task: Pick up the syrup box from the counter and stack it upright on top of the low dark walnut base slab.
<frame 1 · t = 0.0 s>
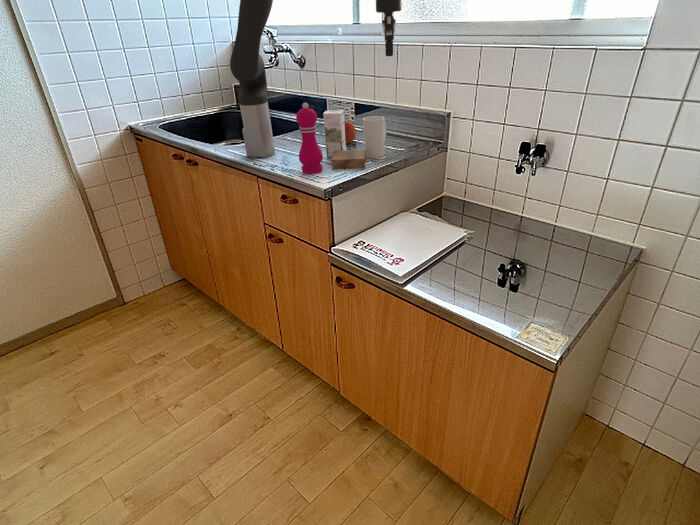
hand: (389, 54, 131), 29 cm above the counter, fingers open, 8 cm apart
pepper mill: (312, 172, 130), on the counter
syrup box: (336, 156, 143), on the counter
mug: (377, 155, 142), on the counter
fruit: (346, 143, 157), on the counter
walnut base: (349, 164, 134), on the counter
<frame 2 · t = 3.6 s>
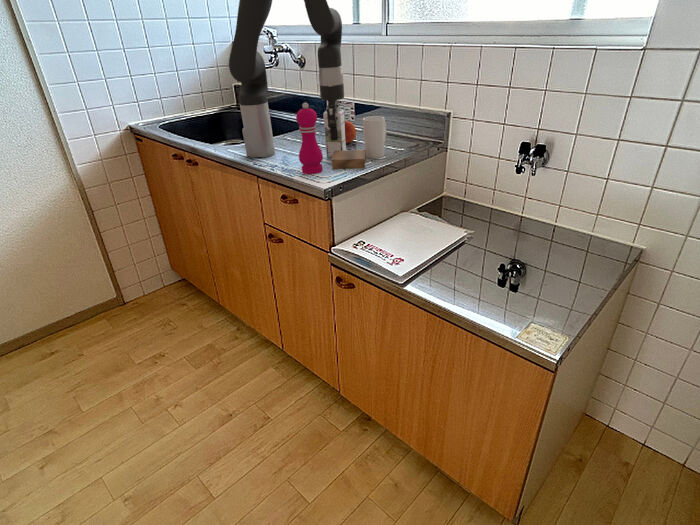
hand: (335, 137, 140), 6 cm above the counter, fingers closed on syrup box, 6 cm apart
syrup box: (336, 156, 143), on the counter, touching gripper
everything else where it was.
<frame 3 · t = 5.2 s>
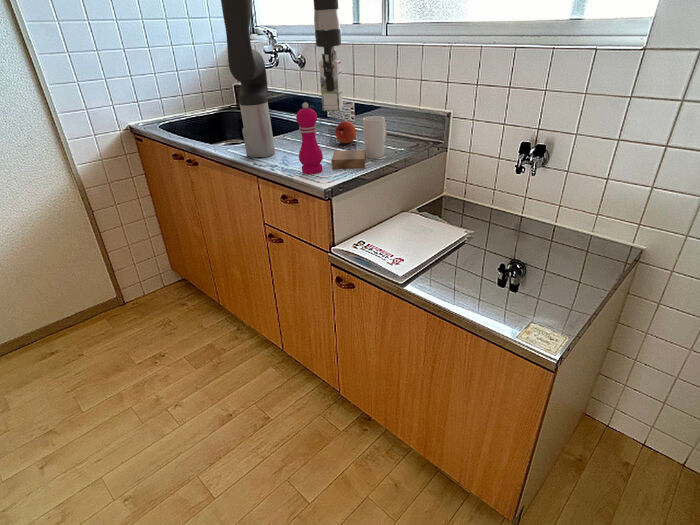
hand: (331, 88, 133), 21 cm above the counter, fingers closed on syrup box, 6 cm apart
syrup box: (333, 110, 136), point 15 cm above the counter, touching gripper
everything else where it was.
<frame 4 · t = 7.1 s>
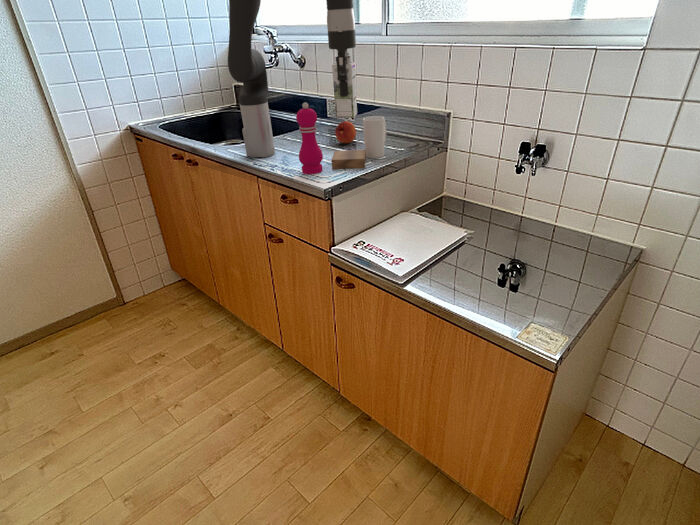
hand: (345, 94, 124), 21 cm above the counter, fingers closed on syrup box, 6 cm apart
syrup box: (346, 116, 127), point 14 cm above the counter, touching gripper
everything else where it was.
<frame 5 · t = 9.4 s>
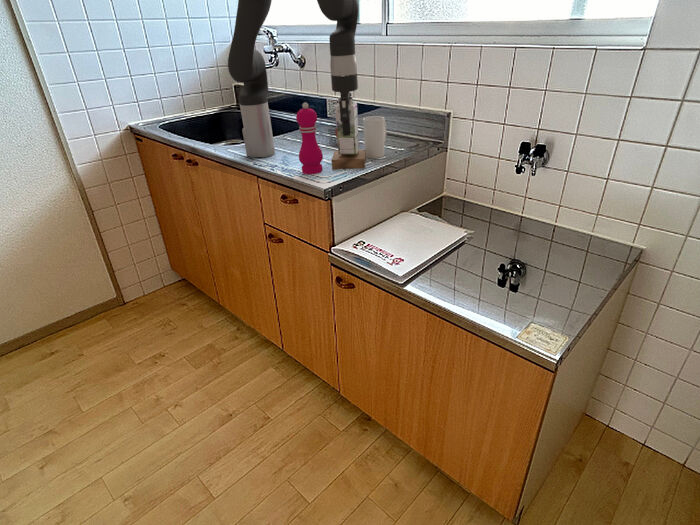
hand: (347, 132, 129), 10 cm above the counter, fingers closed on syrup box, 6 cm apart
syrup box: (348, 153, 132), point 3 cm above the counter, touching gripper
everything else where it was.
when the fingers open (10 cm above the counter, at t = 11.0 s): syrup box stays where it is, resting on walnut base.
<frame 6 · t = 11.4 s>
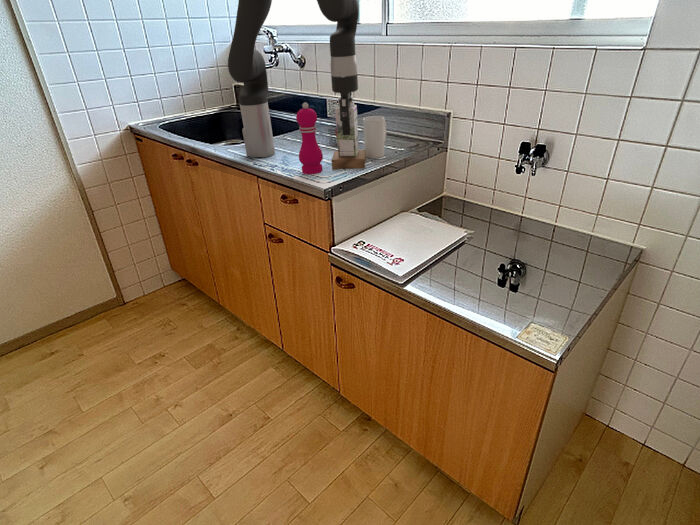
hand: (347, 131, 129), 10 cm above the counter, fingers open, 8 cm apart
syrup box: (348, 155, 133), point 3 cm above the counter, touching walnut base
everything else where it was.
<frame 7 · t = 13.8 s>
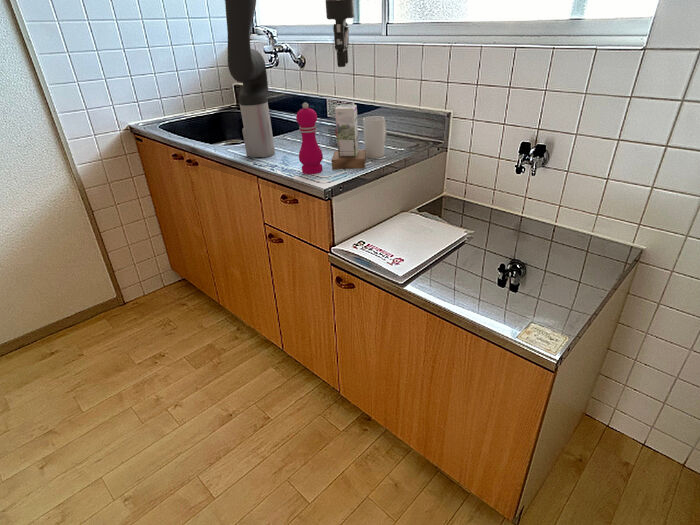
hand: (343, 65, 121), 28 cm above the counter, fingers open, 8 cm apart
nothing on the counter moved.
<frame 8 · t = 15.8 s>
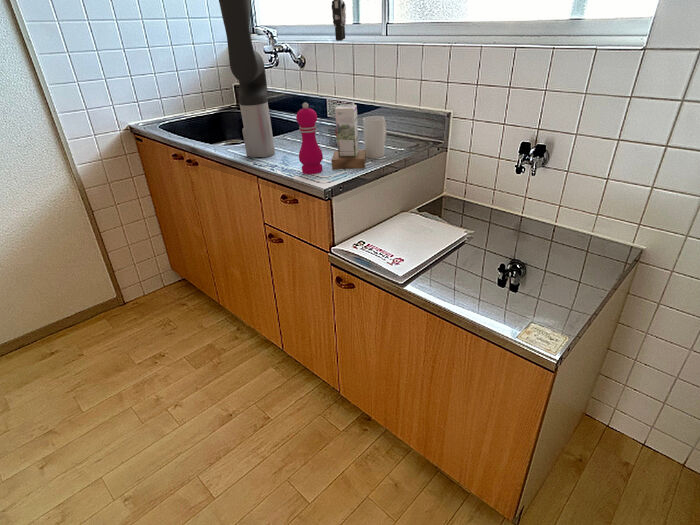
hand: (340, 39, 133), 34 cm above the counter, fingers open, 8 cm apart
nothing on the counter moved.
at the end: syrup box 0.1 cm off-centre on the walnut base, point 2.8 cm above the walnut base's base; syrup box tilted 0°; the gripper is holding nothing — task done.
